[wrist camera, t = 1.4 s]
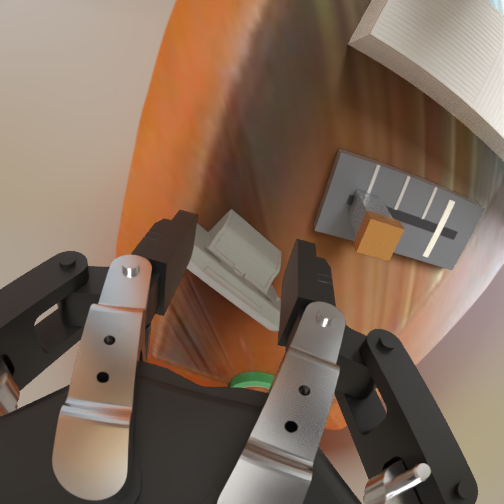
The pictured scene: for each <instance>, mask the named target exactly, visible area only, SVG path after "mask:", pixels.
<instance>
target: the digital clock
mask: <svg viewBox="0 0 504 504" xmlns="http://www.w3.org/2000/svg"><path fill="white" fill-rule="evenodd" d="M281 254H282V252H281V251H280V250H279V249H277V248H276V247H275V246H274V245H273V244H272V243H270V242H269V241H268V240H267V239H266V238H265V237H264V236H262V235H261V234H260V233H259V232H258V231H257V230H255V229H254V228H253V227H252V226H251V225H250V224H248V223H247V222H246V221H245V220H244V219H243V218H241V217H240V216H239V215H238V214H237V213H236V212H234V211H233V210H232V209H231V210H230V211H229V212H228V213H227V214H226V215H225V216H224V217H223V218H222V219H221V220H220V221H219V222H218V223H217V224H216V225H215V226H214V227H213V228H212V229H211V230H210V231H209V232H207V231H206V230H205V229H204V228H202V227H201V226H200V225H199V224H197V227H196V234H195V241H194V248H193V253H192V256H191V259H190V262H189V264H188V266H187V269H188V270H190V271H191V272H192V273H194V274H195V275H196V276H197V277H199V278H200V279H201V280H203V281H204V282H205V283H207V284H208V285H209V286H211V287H212V288H213V289H214V290H216V291H217V292H218V293H220V294H221V295H222V296H224V297H225V298H226V299H228V300H229V301H230V302H232V303H233V304H235V305H236V306H237V307H239V308H240V309H241V310H243V311H244V312H245V313H247V314H248V315H249V316H251V317H252V318H254V319H255V320H256V321H258V322H259V323H260V324H262V325H263V326H265V327H266V328H268V329H269V330H271V331H279V322H280V309H281V301H280V300H281V299H280V298H279V297H278V295H277V293H276V291H275V288H274V287H273V285H272V284H271V283H272V281H273V280H274V278H275V277H276V276H277V274H278V273H279V271H280V267H281Z"/></svg>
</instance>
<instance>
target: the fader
mask: <svg viewBox="0 0 504 504" xmlns="http://www.w3.org/2000/svg"><path fill="white" fill-rule="evenodd" d="M348 214H349V217H350V220H351V223H352V226H353V229H354V232H355V235H356V238H355V240H354V246H355V249H356V252H358V253H362V254H365V255H369V256H373V257H376V258H380V259H383V260H387V261H389V260H390V258H391V256H392V254H393V252H394V250H395V248H396V246H397V244H398V242H399V240H400V238H401V236H402V234H403V232H404V228H403V226H402V225H401V223H400V221H398V220H395V219H393V218H392V216H391V214H390V213H389V211H388V209H387V207H386V206H385V204H384V202H383V201H382V199H381V198H380V197H378V196H375V195H372V194H369V193H366V192H362V191H359V190H357V191H356V193H355V196H354V199H353V201H352V204H351V207H350V209H349V212H348Z"/></svg>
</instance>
